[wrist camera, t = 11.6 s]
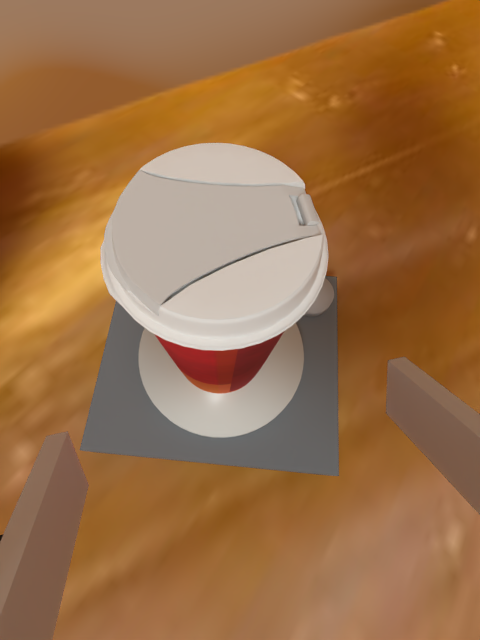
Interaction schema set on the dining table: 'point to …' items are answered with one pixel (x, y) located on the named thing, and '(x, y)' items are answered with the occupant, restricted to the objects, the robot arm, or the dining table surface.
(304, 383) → the grey flat block
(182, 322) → the paper cup
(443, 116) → the dining table surface
